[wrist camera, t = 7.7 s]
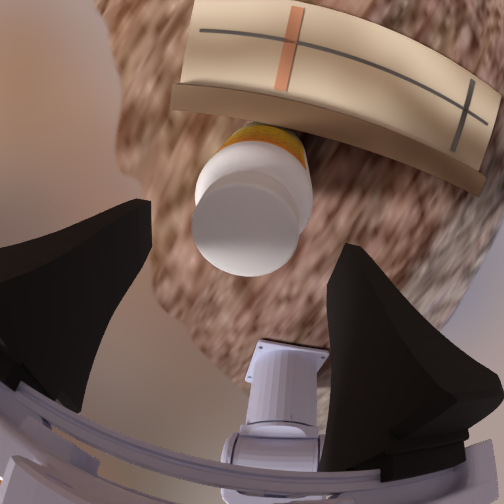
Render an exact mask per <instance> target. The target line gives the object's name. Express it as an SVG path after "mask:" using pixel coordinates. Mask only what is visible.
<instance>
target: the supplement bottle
mask: <svg viewBox="0 0 504 504" xmlns="http://www.w3.org/2000/svg"><path fill="white" fill-rule="evenodd" d="M195 202H196V208H195V210H194V213H193V216H192V225H191V228H192V235H193V239H194V241H195V244H196V246H197V248H198V249H199V251H200V252H201V254H202V255H203V256H204V257H205V258H206V259H207V260H208V261H209V262H210V263H212V264H213V265H214V266H216V267H217V268H219V269H221V270H223V271H225V272H228V273H231V274H234V275H239V276H260V275H265V274H268V273H271V272H273V271H275V270H277V269H279V268H280V267H282V266H283V265H284V264H285V263H286V262H287V261H288V260H289V259H290V258H291V256H292V255H293V253H294V252H295V249H296V247H297V244H298V239H299V235H300V233H301V232H302V231H303V230H304V228H305V227H306V225H307V223H308V221H309V219H310V215H311V212H312V207H313V190H312V184H311V178H310V173H309V167H308V162H307V157H306V153H305V149H304V147H303V144H302V142H301V141H300V139H299V138H298V136H297V135H296V134H295V133H294V132H293V131H292V130H290V129H289V128H285V127H280V126H276V125H271V124H266V123H261V122H252V123H249V124H246V125H244V126H243V127H241V128H239V129H238V130H237V131H236V132H235V133H234V134H233V135H232V136H231V137H230V138H229V139H228V140H227V141H226V142H225V143H224V144H223V145H222V147H221V148H220V149H219V150H218V151H217V152H216V153H215V154H214V155H213V156H212V157H211V159H210V160H209V161H208V162H207V163H206V165H205V166H204V168H203V170H202V171H201V173H200V176H199V178H198V181H197V185H196V191H195Z"/></svg>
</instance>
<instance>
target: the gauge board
mask: <svg viewBox="0 0 504 504" xmlns="http://www.w3.org/2000/svg"><path fill="white" fill-rule="evenodd" d="M500 100H501V95H500V94H499V93H498V92H496V91H495V90H494V89H492V88H491V87H490V86H488V85H487V84H486V83H484V82H483V81H482V80H480V79H479V78H477V77H476V76H474V75H473V74H471V73H470V72H469V71H467V70H465V69H464V68H462V67H461V66H459V65H458V64H456V63H454V62H453V61H451V60H449V59H448V58H446V57H444V56H443V55H441V54H439V53H437V52H435V51H434V50H432V49H430V48H428V47H426V46H424V45H422V44H420V43H418V42H416V41H414V40H412V39H410V38H408V37H406V36H403V35H401V34H399V33H397V32H394V31H392V30H390V29H387V28H385V27H382V26H380V25H377V24H375V23H372V22H369V21H366V20H364V19H361V18H358V17H355V16H352V15H349V14H345V13H342V12H339V11H335V10H332V9H328V8H324V7H320V6H316V5H312V4H307V3H303V2H298V1H293V0H195V3H194V7H193V12H192V17H191V22H190V27H189V32H188V37H187V43H186V49H185V55H184V61H183V68H182V75H181V82H180V83H179V84H173V88H172V96H171V105H170V110H178V111H188V112H197V113H205V114H213V115H220V116H226V117H233V118H239V119H245V120H250V121H256V122H261V123H266V124H271V125H276V126H280V127H285V128H289V129H294V130H298V131H302V132H306V133H310V134H314V135H318V136H321V137H325V138H329V139H332V140H336V141H339V142H342V143H346V144H349V145H352V146H355V147H359V148H362V149H365V150H368V151H371V152H374V153H377V154H379V155H382V156H385V157H388V158H391V159H393V160H396V161H399V162H401V163H404V164H406V165H409V166H412V167H414V168H416V169H419V170H421V171H424V172H426V173H428V174H431V175H433V176H435V177H438V178H440V179H442V180H444V181H446V182H449V183H451V184H453V185H455V186H457V187H459V188H461V189H463V190H465V191H467V192H469V193H471V194H473V195H475V196H477V197H479V195H480V193H481V191H482V188H483V186H484V183H485V181H486V179H487V177H485V176H484V175H483V174H481V173H480V172H478V171H479V168H480V166H481V163H482V160H483V158H484V155H485V152H486V149H487V146H488V143H489V140H490V137H491V134H492V130H493V127H494V124H495V120H496V116H497V113H498V109H499V105H500Z"/></svg>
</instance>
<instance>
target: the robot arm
mask: <svg viewBox="0 0 504 504" xmlns="http://www.w3.org/2000/svg"><path fill="white" fill-rule="evenodd" d="M151 248H152V228H151V201H148V200H142V199H134V200H130V201H128V202H125V203H122V204H120V205H117V206H115V207H113V208H111V209H109V210H106V211H104V212H102V213H99V214H97V215H95V216H93V217H91V218H88V219H86V220H83V221H81V222H79V223H76V224H74V225H72V226H70V227H67V228H65V229H62V230H59V231H57V232H54V233H51V234H48V235H45V236H42V237H39V238H36V239H32V240H29V241H26V242H22V243H19V244H15V245H11V246H7V247H3V248H0V479H1V480H2V482H1V486H0V504H179V503H175V502H171V501H168V500H164V499H161V498H158V497H154V496H151V495H148V494H145V493H142V492H139V491H136V490H134V489H131V488H128V487H125V486H123V485H120V484H118V483H116V482H113V481H111V480H108V479H106V478H104V477H102V476H99V475H98V474H97V471H98V468H99V465H100V461H99V460H98V459H97V458H95V457H93V456H91V455H89V454H88V453H86V452H84V451H83V450H81V449H80V448H78V447H77V446H76V445H74V444H73V443H72V442H70V441H68V440H66V439H65V438H63V437H62V436H60V435H58V434H57V433H55V432H53V431H52V427H51V426H50V425H52V426H54V427H55V428H57V429H59V430H61V431H62V432H64V433H66V434H68V435H70V436H71V437H73V438H75V439H77V440H79V441H81V442H83V443H85V444H87V445H89V446H91V447H93V448H96V449H98V450H100V451H102V452H104V453H107V454H109V455H111V456H114V457H116V458H119V459H121V460H124V461H126V462H129V463H131V464H134V465H137V466H140V467H142V468H145V469H149V470H151V471H155V472H158V473H161V474H164V475H168V476H171V477H175V478H178V479H183V480H186V481H191V482H194V483H199V484H203V485H208V486H213V487H219V488H221V494H222V499H223V500H224V501H225V502H226V503H227V504H490V503H492V502H494V501H495V500H497V499H498V497H499V495H498V481H497V471H496V463H495V456H494V451H493V444H492V440H491V439H489V440H486V441H483V442H480V443H477V444H474V445H471V446H469V447H466V448H465V447H464V441H466V440H467V439H468V438H469V432H468V429H469V428H470V427H472V426H473V425H475V424H476V423H478V422H479V421H481V420H482V419H483V418H485V417H486V416H488V415H489V414H490V413H492V412H493V411H494V410H495V409H496V408H497V407H498V406H499V405H500V404H501V402H502V401H503V399H504V391H503V388H502V385H501V382H500V379H499V377H498V375H497V374H496V373H494V372H493V371H491V370H490V369H488V368H486V367H485V366H483V365H482V364H480V363H478V362H477V361H475V360H474V359H473V358H471V357H470V356H469V355H467V354H466V353H465V352H463V351H462V350H460V349H459V348H458V347H457V346H455V345H454V344H453V343H452V342H450V341H449V340H448V339H447V338H446V337H445V336H444V335H442V334H441V333H440V332H439V331H438V330H437V329H436V328H434V327H433V326H432V325H431V324H430V323H429V322H428V321H427V320H426V319H425V318H424V317H423V316H422V315H421V314H420V313H419V312H418V311H417V310H416V309H415V308H414V307H413V306H412V305H411V304H410V303H409V301H408V300H407V299H406V298H405V297H404V296H403V295H402V294H401V292H400V291H399V290H398V289H397V288H396V287H395V285H394V284H393V283H392V282H391V281H390V280H389V278H388V277H387V276H386V275H385V274H384V272H383V271H382V270H381V269H380V268H379V266H378V265H377V264H376V263H375V262H374V260H373V259H372V258H371V257H370V256H369V255H368V254H367V253H366V251H365V250H364V249H363V248H361V247H360V246H356V245H352V244H348V243H345V245H344V247H343V250H342V252H341V254H340V257H339V259H338V261H337V263H336V266H335V268H334V270H333V273H332V275H331V277H330V279H329V281H328V284H327V318H328V328H329V338H330V348H331V362H332V375H331V393H330V404H329V414H328V421H327V428H326V434H325V435H324V434H323V435H319V437H318V426H316V423H317V372H318V370H319V369H320V368H321V366H322V365H323V363H324V362H325V361H326V359H327V358H328V356H329V351H327V350H321V349H314V348H308V347H301V346H295V345H289V344H284V343H278V342H273V341H267V340H259V341H258V342H257V345H256V348H255V351H254V354H253V357H252V360H251V363H250V366H249V369H248V371H247V374H246V377H245V381H246V382H250V383H252V385H251V391H250V398H249V405H248V411H247V417H246V424H245V425H241V427H240V432H235V433H233V434H232V435H231V436H230V437H229V438H227V440H226V442H225V445H224V447H223V451H222V457H221V462H217V461H212V460H207V459H203V458H199V457H195V456H190V455H186V454H183V453H179V452H175V451H172V450H168V449H165V448H162V447H158V446H155V445H152V444H149V443H146V442H143V441H140V440H138V439H135V438H132V437H129V436H127V435H124V434H122V433H119V432H117V431H114V430H112V429H109V428H107V427H105V426H102V425H100V424H98V423H95V422H94V421H91V420H89V419H87V418H85V417H83V416H81V415H79V414H77V413H79V412H81V408H82V403H83V398H84V394H85V390H86V385H87V381H88V378H89V375H90V371H91V368H92V365H93V362H94V358H95V356H96V353H97V350H98V347H99V345H100V342H101V339H102V337H103V335H104V332H105V330H106V328H107V326H108V323H109V321H110V319H111V317H112V315H113V313H114V311H115V310H116V308H117V306H118V305H119V303H120V301H121V300H122V298H123V297H124V295H125V293H126V292H127V290H128V289H129V287H130V286H131V284H132V282H133V281H134V279H135V278H136V276H137V275H138V273H139V272H140V270H141V268H142V267H143V265H144V262H145V261H146V259H147V256H148V254H149V252H150V250H151ZM326 495H332V496H331V497H329V498H328V499H326Z"/></svg>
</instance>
